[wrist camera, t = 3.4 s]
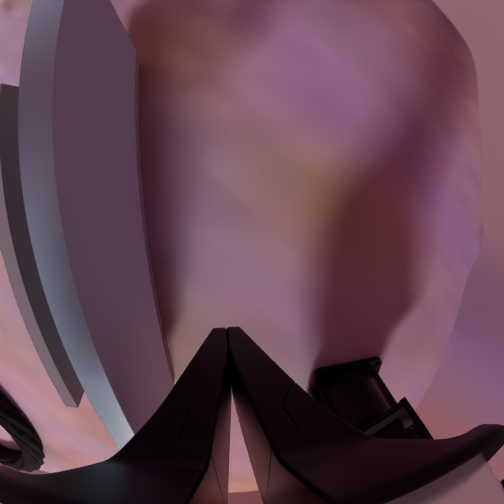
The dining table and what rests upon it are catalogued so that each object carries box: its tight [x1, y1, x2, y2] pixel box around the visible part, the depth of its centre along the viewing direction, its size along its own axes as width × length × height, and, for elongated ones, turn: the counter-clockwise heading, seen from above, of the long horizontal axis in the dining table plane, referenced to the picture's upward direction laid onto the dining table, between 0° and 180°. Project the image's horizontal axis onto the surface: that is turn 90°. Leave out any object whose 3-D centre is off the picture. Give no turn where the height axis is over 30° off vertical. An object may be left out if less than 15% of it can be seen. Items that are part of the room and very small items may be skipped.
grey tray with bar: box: [0, 60, 175, 408], centre depth 16 cm, size 9×23×4 cm, turn 1°
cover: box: [18, 0, 174, 450], centre depth 10 cm, size 9×22×1 cm
